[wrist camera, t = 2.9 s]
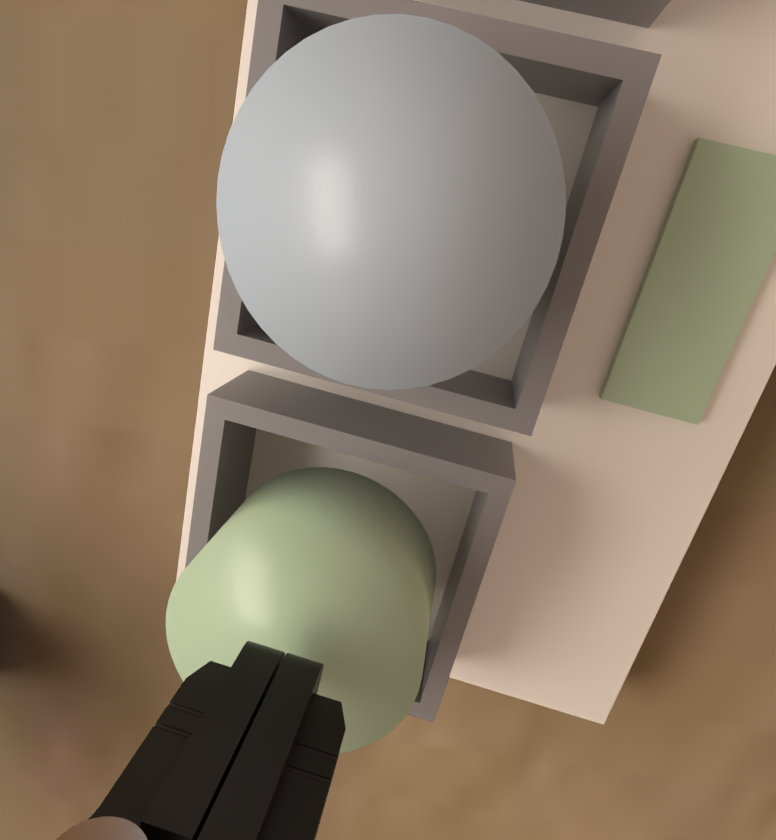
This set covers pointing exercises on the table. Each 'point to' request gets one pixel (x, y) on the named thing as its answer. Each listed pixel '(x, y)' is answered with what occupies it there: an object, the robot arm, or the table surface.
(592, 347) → the button panel
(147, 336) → the table surface
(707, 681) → the table surface
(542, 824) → the table surface
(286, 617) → the sage button
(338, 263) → the slate button
